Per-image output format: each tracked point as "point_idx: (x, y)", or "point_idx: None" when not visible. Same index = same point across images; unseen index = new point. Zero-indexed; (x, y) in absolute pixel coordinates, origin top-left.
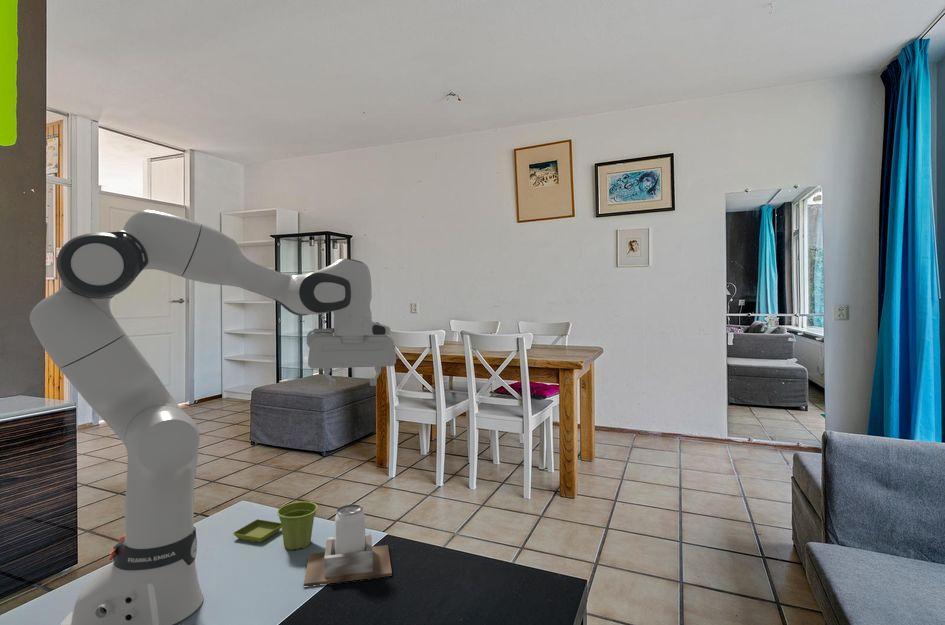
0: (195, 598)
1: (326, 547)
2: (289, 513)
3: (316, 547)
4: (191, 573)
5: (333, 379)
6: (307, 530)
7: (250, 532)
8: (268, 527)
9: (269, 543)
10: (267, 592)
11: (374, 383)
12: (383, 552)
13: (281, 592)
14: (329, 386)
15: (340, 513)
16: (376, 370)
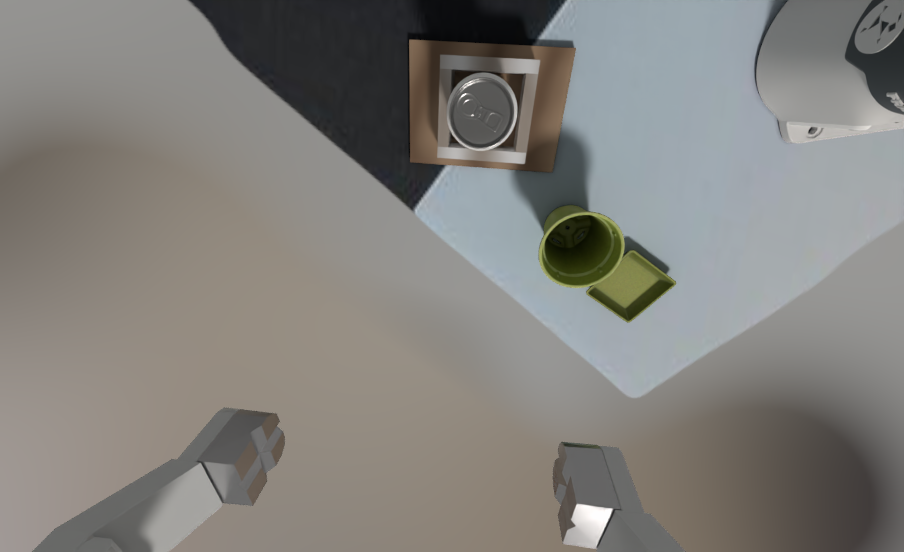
0: (791, 19)
1: (530, 115)
2: (589, 269)
3: (535, 203)
4: (844, 12)
5: (586, 532)
6: (556, 217)
7: (639, 292)
8: (609, 299)
9: None
10: (640, 51)
11: (228, 420)
12: (419, 133)
13: (615, 42)
14: (617, 450)
15: (506, 104)
16: (92, 549)
